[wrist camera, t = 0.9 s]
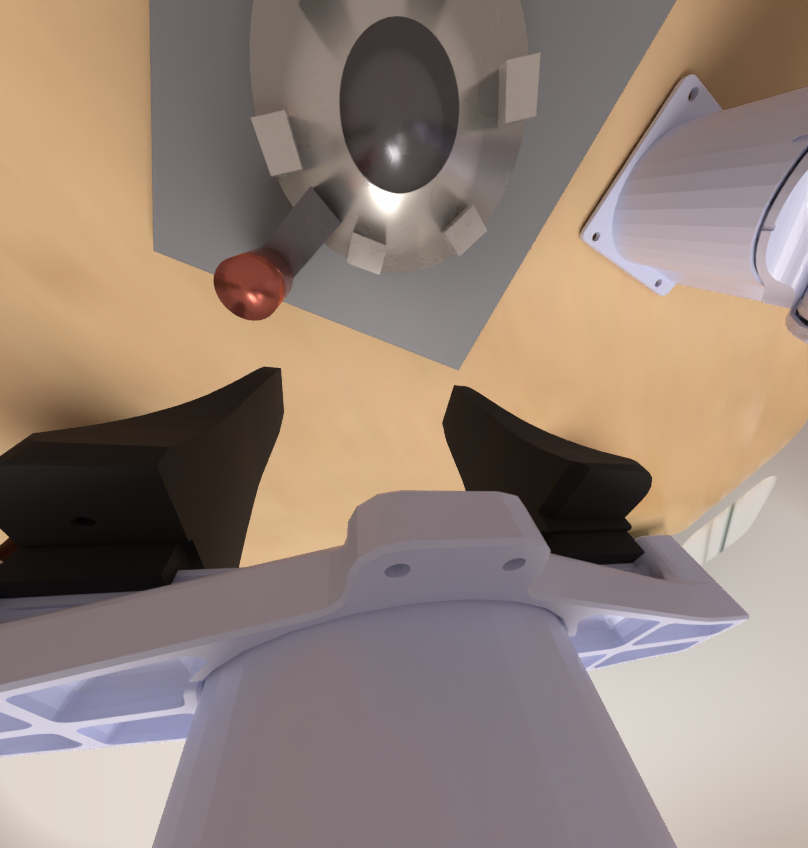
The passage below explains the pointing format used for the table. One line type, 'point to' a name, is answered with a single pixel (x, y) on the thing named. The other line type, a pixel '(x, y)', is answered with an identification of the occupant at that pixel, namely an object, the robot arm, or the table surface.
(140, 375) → the table surface
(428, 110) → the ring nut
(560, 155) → the cap plate
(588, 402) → the table surface
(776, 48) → the table surface
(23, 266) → the table surface
